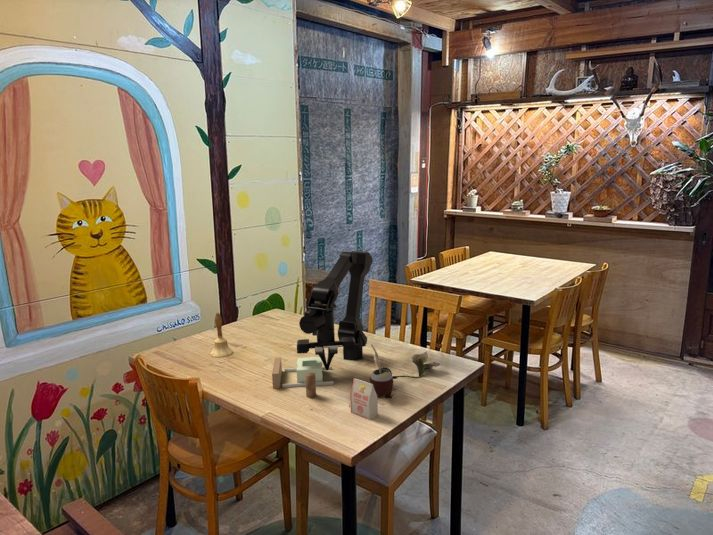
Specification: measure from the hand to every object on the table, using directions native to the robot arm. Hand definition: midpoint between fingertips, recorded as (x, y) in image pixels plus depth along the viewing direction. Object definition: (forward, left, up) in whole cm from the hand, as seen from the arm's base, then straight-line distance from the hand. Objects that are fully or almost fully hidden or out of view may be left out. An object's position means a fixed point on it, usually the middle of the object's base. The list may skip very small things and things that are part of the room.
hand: (327, 369), depth 169 cm
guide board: (+7, 0, -4) cm, 8 cm away
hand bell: (+39, -29, -4) cm, 49 cm away
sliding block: (+6, 0, -2) cm, 6 cm away
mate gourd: (-16, +14, -4) cm, 21 cm away
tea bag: (-10, +24, -4) cm, 26 cm away
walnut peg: (+5, +13, -4) cm, 14 cm away
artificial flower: (-27, +2, -4) cm, 27 cm away
